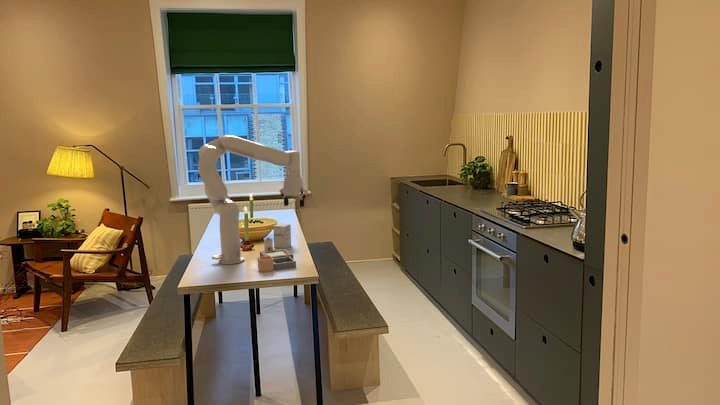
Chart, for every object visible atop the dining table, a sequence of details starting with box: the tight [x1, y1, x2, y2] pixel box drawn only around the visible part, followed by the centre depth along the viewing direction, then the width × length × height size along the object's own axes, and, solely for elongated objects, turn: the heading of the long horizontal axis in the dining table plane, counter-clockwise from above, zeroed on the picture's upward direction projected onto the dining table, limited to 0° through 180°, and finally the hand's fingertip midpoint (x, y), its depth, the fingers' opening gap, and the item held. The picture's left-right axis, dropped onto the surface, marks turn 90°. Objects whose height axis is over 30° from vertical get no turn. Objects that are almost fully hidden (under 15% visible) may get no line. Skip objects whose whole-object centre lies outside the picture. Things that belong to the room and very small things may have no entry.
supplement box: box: [272, 223, 292, 249], centre depth 304 cm, size 7×7×13 cm
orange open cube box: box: [257, 256, 275, 273], centre depth 258 cm, size 6×6×6 cm
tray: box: [273, 256, 297, 271], centre depth 265 cm, size 11×11×3 cm
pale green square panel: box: [266, 251, 285, 256], centre depth 279 cm, size 9×9×1 cm
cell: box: [263, 237, 274, 251], centre depth 289 cm, size 4×4×9 cm
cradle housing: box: [259, 248, 295, 260], centre depth 279 cm, size 14×14×3 cm
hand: (294, 206), depth 288 cm, fingers open, 9 cm apart
